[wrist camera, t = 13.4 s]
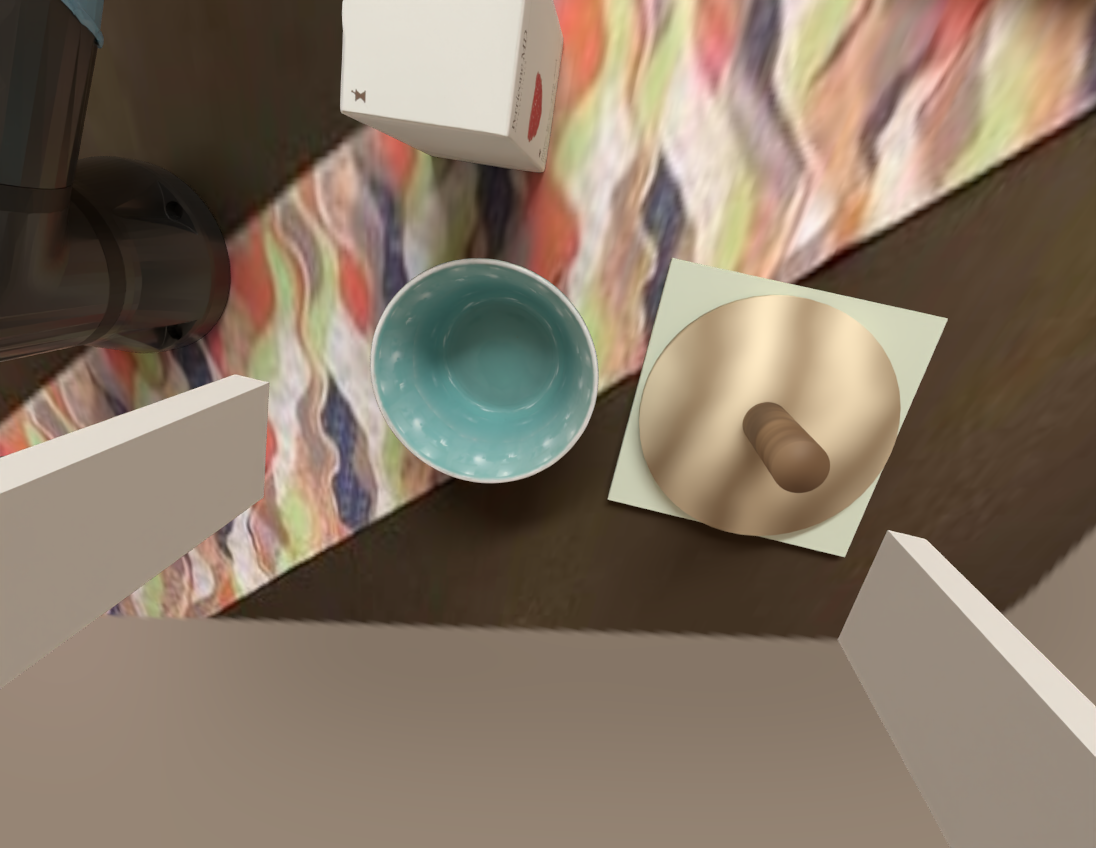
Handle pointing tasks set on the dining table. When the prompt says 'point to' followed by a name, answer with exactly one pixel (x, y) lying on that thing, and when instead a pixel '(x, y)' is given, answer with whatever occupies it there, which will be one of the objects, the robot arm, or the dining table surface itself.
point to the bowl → (484, 370)
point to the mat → (710, 287)
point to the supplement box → (455, 76)
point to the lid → (769, 415)
